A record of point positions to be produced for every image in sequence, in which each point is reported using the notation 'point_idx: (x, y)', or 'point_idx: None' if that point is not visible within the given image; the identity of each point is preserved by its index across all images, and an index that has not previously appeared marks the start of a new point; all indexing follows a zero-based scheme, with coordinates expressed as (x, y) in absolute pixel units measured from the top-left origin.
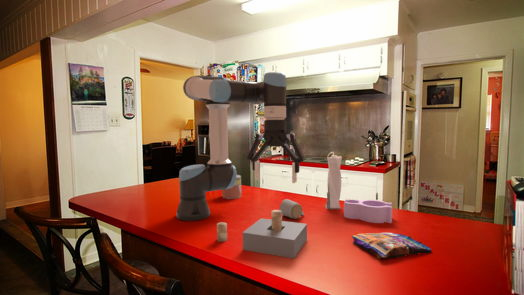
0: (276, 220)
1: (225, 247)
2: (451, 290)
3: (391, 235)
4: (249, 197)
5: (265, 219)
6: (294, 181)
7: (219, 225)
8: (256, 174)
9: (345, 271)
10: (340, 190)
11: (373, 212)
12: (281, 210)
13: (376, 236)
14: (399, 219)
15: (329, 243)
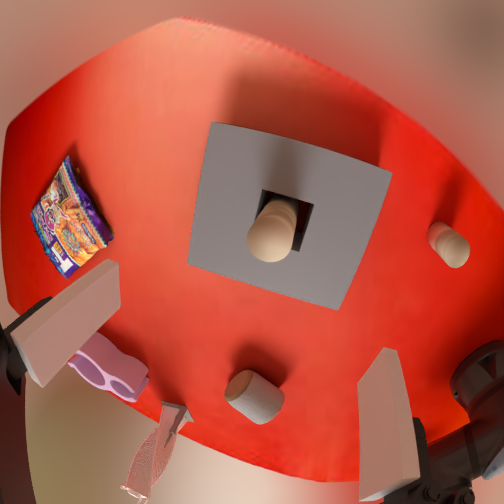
0: (272, 210)
1: (425, 183)
2: (34, 100)
3: (57, 247)
4: (351, 459)
5: (323, 300)
6: (100, 264)
7: (463, 239)
8: (392, 382)
9: (127, 95)
10: (151, 433)
11: (88, 345)
12: (279, 394)
13: (68, 232)
14: None
15: (153, 228)
